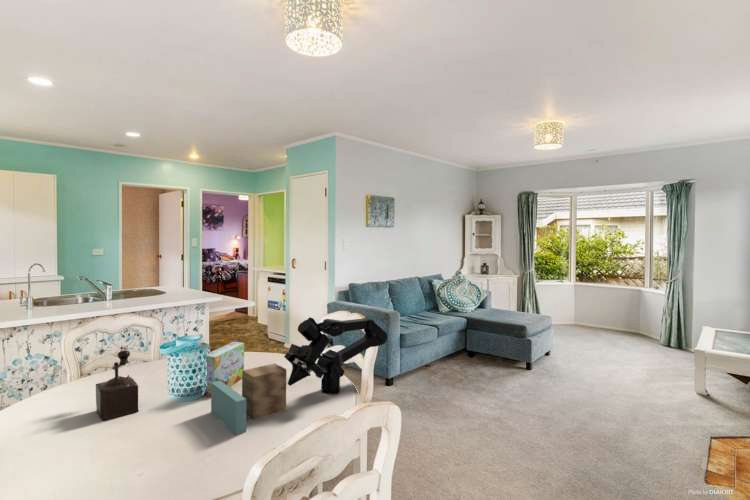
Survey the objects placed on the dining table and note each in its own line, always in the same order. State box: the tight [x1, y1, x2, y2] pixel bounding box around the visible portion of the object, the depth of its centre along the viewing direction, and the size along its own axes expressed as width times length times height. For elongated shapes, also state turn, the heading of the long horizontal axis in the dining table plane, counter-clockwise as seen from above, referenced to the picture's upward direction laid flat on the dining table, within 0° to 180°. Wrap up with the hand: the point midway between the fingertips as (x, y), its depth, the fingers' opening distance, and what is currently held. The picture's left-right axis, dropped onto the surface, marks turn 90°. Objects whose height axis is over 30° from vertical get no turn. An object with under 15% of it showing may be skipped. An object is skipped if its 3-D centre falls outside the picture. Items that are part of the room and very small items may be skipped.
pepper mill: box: [95, 349, 140, 422], centre depth 137 cm, size 16×11×18 cm
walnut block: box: [241, 363, 287, 421], centre depth 138 cm, size 12×8×14 cm, turn 132°
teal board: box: [210, 381, 247, 436], centre depth 129 cm, size 3×20×10 cm, turn 42°
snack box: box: [203, 341, 245, 398], centre depth 158 cm, size 21×6×15 cm, turn 168°
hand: (288, 384), depth 144 cm, fingers closed
